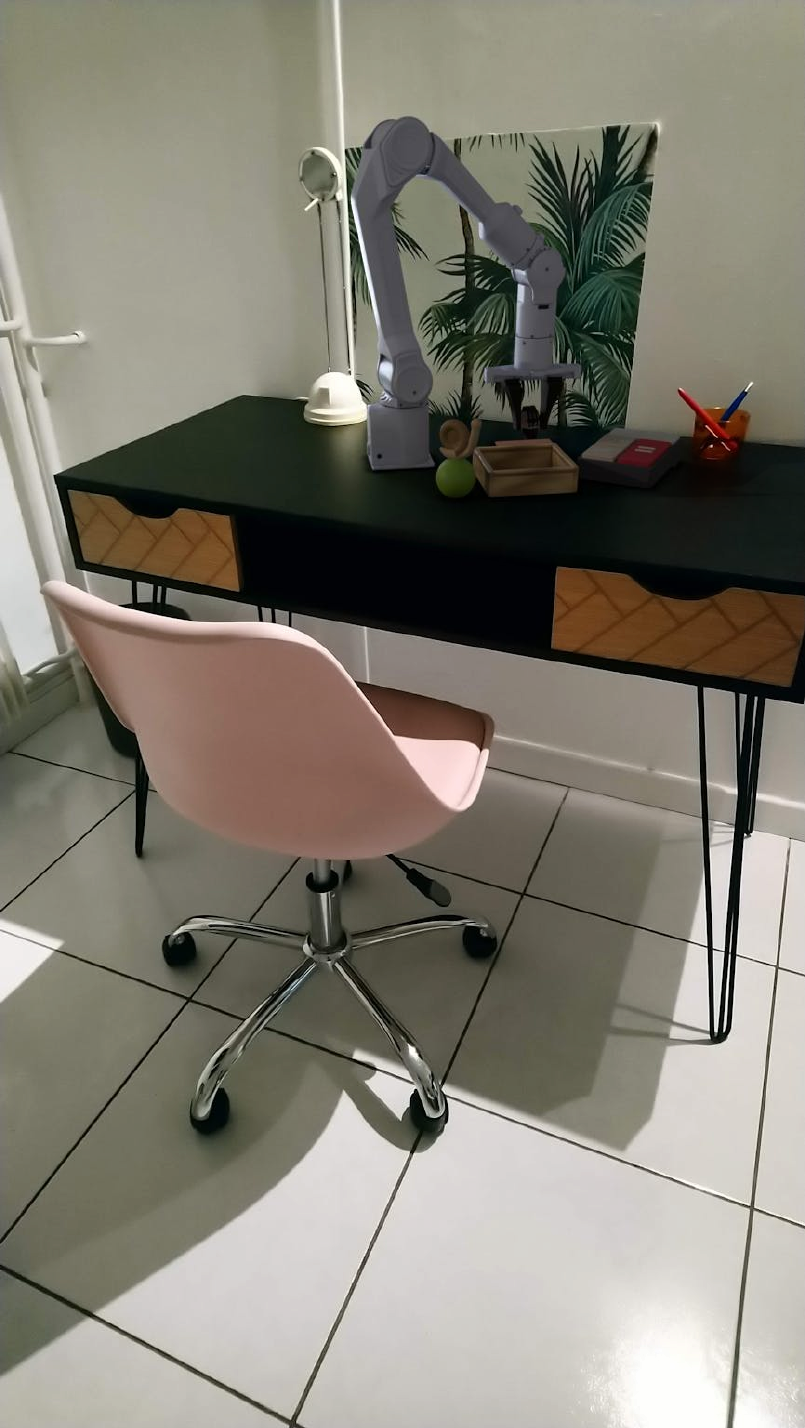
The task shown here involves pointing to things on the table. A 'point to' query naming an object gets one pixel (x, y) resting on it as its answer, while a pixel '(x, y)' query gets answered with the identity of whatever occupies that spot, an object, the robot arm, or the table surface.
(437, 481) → the snail figurine
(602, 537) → the table surface
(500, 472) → the wooden box
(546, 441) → the coaster
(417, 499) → the table surface
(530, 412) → the smartwatch
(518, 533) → the table surface
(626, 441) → the grey and red box
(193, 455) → the table surface
